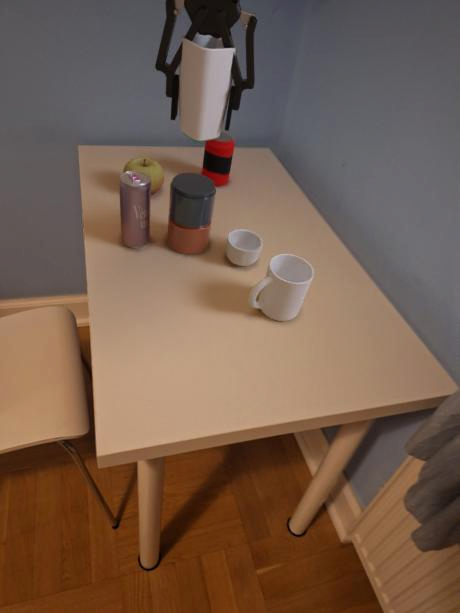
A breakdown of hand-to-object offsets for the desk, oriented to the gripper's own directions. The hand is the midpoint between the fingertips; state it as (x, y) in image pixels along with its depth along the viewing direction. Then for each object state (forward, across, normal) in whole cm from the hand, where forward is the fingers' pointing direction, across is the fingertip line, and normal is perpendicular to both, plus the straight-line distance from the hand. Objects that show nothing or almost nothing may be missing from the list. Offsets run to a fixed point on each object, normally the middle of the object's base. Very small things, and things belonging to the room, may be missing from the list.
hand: (200, 122), depth 72 cm
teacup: (+27, +12, -2) cm, 29 cm away
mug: (+27, +19, -17) cm, 37 cm away
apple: (+27, -14, +18) cm, 35 cm away
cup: (+3, 0, 0) cm, 3 cm away
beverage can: (+27, -11, -3) cm, 29 cm away
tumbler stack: (+27, 0, 0) cm, 27 cm away
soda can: (+27, +3, +30) cm, 41 cm away
